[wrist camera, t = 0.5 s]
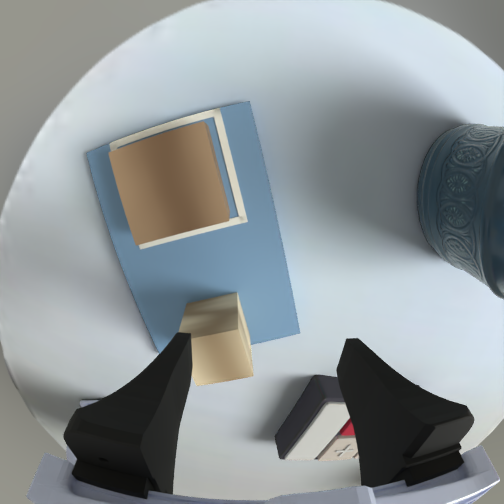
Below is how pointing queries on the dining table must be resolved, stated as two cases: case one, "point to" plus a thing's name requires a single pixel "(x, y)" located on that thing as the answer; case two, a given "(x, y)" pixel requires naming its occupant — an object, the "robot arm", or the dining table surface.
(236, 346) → the maple block
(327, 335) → the dining table surface
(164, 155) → the walnut base
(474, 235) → the canister
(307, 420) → the multicoloured piece
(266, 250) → the board
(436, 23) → the dining table surface
